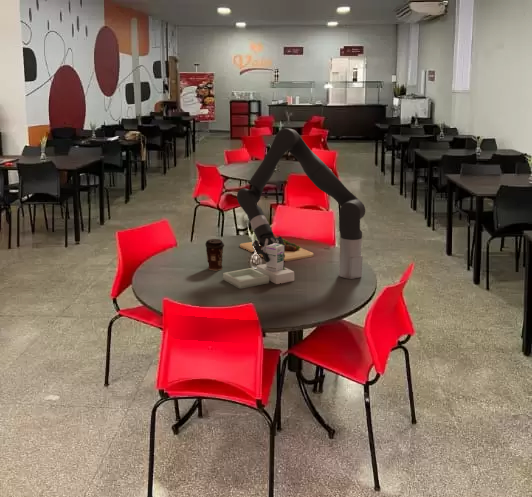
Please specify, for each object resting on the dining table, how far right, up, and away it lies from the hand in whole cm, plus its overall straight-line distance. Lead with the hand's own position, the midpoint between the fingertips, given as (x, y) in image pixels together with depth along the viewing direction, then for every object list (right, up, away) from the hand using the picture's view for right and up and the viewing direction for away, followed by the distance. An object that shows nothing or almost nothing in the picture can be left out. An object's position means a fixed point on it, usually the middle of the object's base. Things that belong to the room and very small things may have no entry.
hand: (275, 259), depth 277 cm
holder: (0, -8, +3) cm, 8 cm away
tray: (-13, -9, -3) cm, 16 cm away
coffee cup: (-27, -4, +15) cm, 31 cm away
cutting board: (+1, +3, +44) cm, 44 cm away
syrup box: (0, -8, +3) cm, 8 cm away
